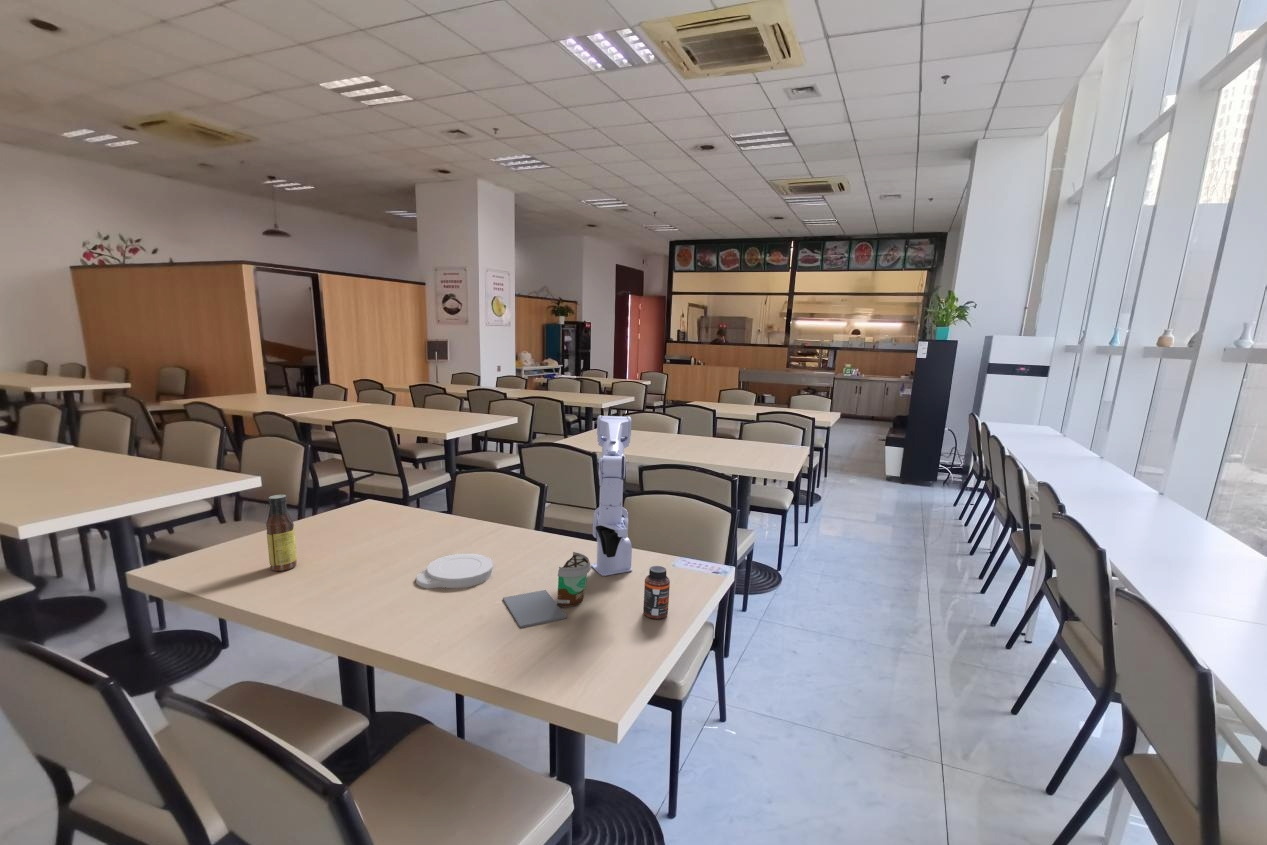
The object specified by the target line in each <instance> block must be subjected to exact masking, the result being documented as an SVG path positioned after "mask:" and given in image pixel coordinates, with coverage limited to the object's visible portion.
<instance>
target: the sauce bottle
mask: <svg viewBox="0 0 1267 845" xmlns="http://www.w3.org/2000/svg"><path fill="white" fill-rule="evenodd" d="M267 499H268V500H267V501H268V503H269V510H270V511H269V513H270V514H269V517H268V518H267V521H266V526H265V527H266V539H267V540H266V541H267V548H268V559H269V561H268V562H269V566H270V570H271V571H275V572H283V571H288V570H291V569H293V568H295V567H296V566H297V562H298V561H297V560H298V559H297V558H298V557H297V546H296V545H297V544H296V536H295V525H294V522H293V520H292V517H291V516H290V514H289V511H288V508H287V500H288V498H287V495H286V494H275V495H271V496H269V497H268V498H267Z"/></svg>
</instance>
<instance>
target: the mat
mask: <svg viewBox="0 0 1267 845" xmlns="http://www.w3.org/2000/svg"><path fill="white" fill-rule="evenodd" d="M502 601H503V603H504V604H505V606H506V607H507V608H508V610H509V612H510V614H511V615H512V617H513V618H514V620H515V622H516V623H517V625H518V627H519V629H522V628H527V627H531V626H536V625H542V624H546V623H550V622H555V621H560V620H565V618H566V619H567V618H568V616H567V614H566V613H565V612H564V611H563V609H562V608H561V606H557V601H556V600H554V598H553V596H552V595H550V593H549V592H548V591H547V590H546V589H544V590H543V589H542V590H538V591H537V590H536V591H534V592H533V591H530V592H526V593H522V594H520V593H519V594H516V595H509V596H504V597H502Z"/></svg>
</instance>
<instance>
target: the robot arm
mask: <svg viewBox="0 0 1267 845" xmlns="http://www.w3.org/2000/svg"><path fill="white" fill-rule="evenodd" d="M596 421H597V423H596V424H597V425H596V435H597V442H598V446H599V447H600V448H601V456H600V457H599V460H598V478H599V482H598V483H599V506H598V507H597V508H596V509H595V510H594V513H593V519H592V521H593V522H592V536H593V537H594V539H596V542H597V543H596V544H597V545H596V563H595V562H594V563H590V567H592V569H594V570H595V571H596V572H597V573H598V574H599V575H600V576H602V577H605V576H606V577H607V576H612V575H615V574H616V575H617V574H622V573H627V572H632V571H633V568H632V552H633V547H632V542H631V540H630V538H629V536H628V534H629V512H628V510H627V509H626V508H625V507H623V492H624V478H625V476H626V464H627V463H626V456H625V449H626V448H627V447H630V443H631V436H632V417H631V416H629V415H627V416H620V415H619V416H618V415H616V416H615V415H601V414H599V415H598V416H597V420H596Z"/></svg>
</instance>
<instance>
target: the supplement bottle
mask: <svg viewBox="0 0 1267 845" xmlns="http://www.w3.org/2000/svg"><path fill="white" fill-rule="evenodd" d="M648 572H649V573H648V575H647V576H646V577H645V579H644V592H643V593H644V595H643V606H642V607H643V610H642V611H643V614H644V616H646V617H647V618H650V619H653V620H660V619H661V618H662V619H664V618H666V617H667V616H668V614H669V605H670V604H669V602H670V586H671V585H670V583H671V581H670V577H668V576H667V568H666V567H664V566H660V565H653V566H650V567H649V571H648Z"/></svg>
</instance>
